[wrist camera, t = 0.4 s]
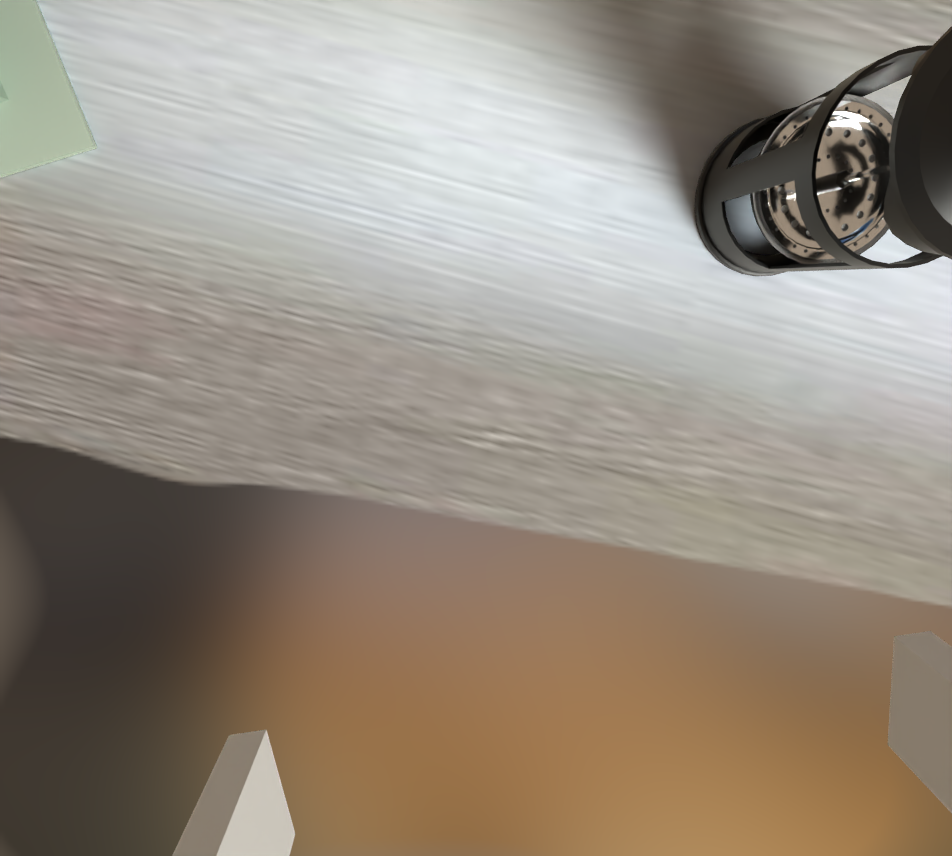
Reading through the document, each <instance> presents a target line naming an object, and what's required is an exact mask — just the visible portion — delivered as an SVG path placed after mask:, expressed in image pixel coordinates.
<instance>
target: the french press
mask: <svg viewBox="0 0 952 856" xmlns="http://www.w3.org/2000/svg"><path fill="white" fill-rule="evenodd" d="M877 66H878V67H877ZM875 67H876V68H875ZM910 75H912V76H911V78H910V80H909V82H908V84H907V86H906V88H905V90H904V92H903V94H902V96H901V98H900V101H899V105H898V108H897V111H896V114H895V118H894V119H893V117H892V116H891V115H890V114H889V113H888V112H887V111H886V110H884V109H883V108H882V107H881V106H880V105H878V104H877V103H875V102H872V101H870V100H868V99H866V98H864V97H863V96H865V95H868V94H870V93H872V92H874V91H876V90H879V89H881V88H883V87H885V86H888V85H890V84H892V83H894V82H896V81H899V80H901V79H903V78H905V77H908V76H910ZM766 140H768V141H767V142H766V144H765V145H764V146H763V148H762V150H761V152H760V154H759V156H758V157H755V158H753V159H750V160H748V161H745V162H743V163H740V164H738V165H735V166H733V167H731V165H732V163H733V161H734V160H735V159H736V158H737V157H738V156H739V155H740V154H741V153H742V152H743V151H745V150H746V149H748V148H749V147H750V146H752V145H754V144H756V143H758V142H761V141H766ZM730 167H731V168H730ZM748 194H750V198H751V205H752V210H753V213H754V216H755V219H756V222H757V224H758V226H759V228H760V230H761V232H762V233H763V235H764V237H765V238H766V239H767V240H768V241H769V242H770V244H771V245H772V246H773V247H774V248H776V249H777V250H778V251H779V252H781V253H778V254H774V255H758V254H753V253H750V252H748V251H746V250H744V249H743V248H742V247H741V246H740V245H739V244H738V243H737V241H736V239H735V237H734V235H733V234H732V232H731V230H730V227H729V224H728V221H727V218H726V211H725V202H724V201H727V200H731V199H734V198H738V197H741V196H744V195H748ZM695 215H696V222H697V226H698V229H699V232H700V235H701V238H702V240H703V242H704V243H705V245H706V247H707V249H708V250H709V251H710V252H711V253H712V255H713V256H714V257H715V258H716V259H717V260H718V261H719V262H721V263H722V264H724V265H725V266H726V267H728V268H729V269H732V270H734V271H737V272H739V273H741V274H747V275H752V276H771V275H775V274H780V273H784V272H787V271H817V270H848V269H879V268H908V267H912V266H916V265H921V264H925V263H928V262H930V261H932V260H935V259H937V258H939V257H941V256H945V257H948V258H950V259H952V27H950V28H949V30H948V31H947V32H946V33H945V34H944V35H943V36H942V37H941V38H940V39H939V40H938V41H937V42H936V43H935V44H934V45H932V46H916V47H912V48H908V49H903V50H899V51H897V52H894V53H892V54H890V55H888V56H886V57H884V58H882V59H880V60H878V61H876V62H874V63H872V64H870V65H868V66H866V67H864V68H862V69H860V70H858V71H857V72H855V73H854V74H852V75H851V76H850V77H848V78H847V79H845V80H844V81H843V82H841V83H840V84H839V85H838V86H837V87H836V88H834V89H832V90H830V91H828V92H826V93H824V94H822V95H820V96H818V97H816V98H814V99H812V100H810V101H808V102H806V103H804V104H802V105H800V106H798V107H794V108H790V109H786V110H782V111H780V112H778V113H776V114H774V115H772V116H770V117H766V118H762V119H758V120H755V121H753V122H750V123H748V124H746V125H744V126H742V127H740V128H738V129H737V130H736V131H734V132H733V133H731V134H730V135H729V136H727V137H726V138H725V139H724V140H723V141H722V142H721V143H720V144H719V145H718V147H717V148H716V149H715V150H714V151H713V153H712V154H711V156H710V158H709V159H708V161H707V162H706V164H705V166H704V169H703V171H702V173H701V176H700V178H699V182H698V186H697V190H696V196H695ZM888 229H890V230H891V232H892V234H894V235H895V236H896V237H898V238H899V239H900V240H901V241H903V242H904V243H905V244H907V245H909V246H911V247H914V248H916V249H918V250H920V251H923V252H922V253H919V254H917V255H915V256H913V257H910V258H908V259H906V260H903V261H899V262H894V263H890V264H887V263H882V262H876V261H872V260H869V259H867V258H865V257H863V256H860V254H861V253H863V252H864V251H866V250H867V249H869V248H870V247H872V246H873V245H874V244H875V243H876V242H877V241H878V240H879V239H880V238H881V237H882V236H883V235H884V234H885V233H886V232H887V230H888Z"/></svg>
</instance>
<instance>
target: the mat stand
mask: <svg viewBox="0 0 952 856" xmlns="http://www.w3.org/2000/svg"><path fill="white" fill-rule="evenodd" d="M96 148H97V146H96V143H95V141H94V139H93V136H92V134H91V131H90V129H89V127H88V124H87V122H86V119H85V117H84V114H83V112H82V110H81V107H80V105H79V102H78V100H77V98H76V95H75V93H74V90H73V88H72V86H71V83H70V81H69V78H68V76H67V74H66V71H65V69H64V66H63V64H62V62H61V59H60V57H59V54H58V52H57V50H56V47H55V45H54V42H53V40H52V37H51V35H50V33H49V30H48V28H47V25H46V23H45V21H44V18H43V16H42V13H41V11H40V9H39V6H38V4H37V1H36V0H0V178H2V177H5V176H8V175H11V174H15V173H18V172H21V171H24V170H28V169H31V168H34V167H37V166H41V165H44V164H47V163H50V162H54V161H57V160H60V159H63V158H67V157H70V156H73V155H76V154H80V153H83V152H86V151H89V150H92V149H96Z"/></svg>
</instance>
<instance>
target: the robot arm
mask: <svg viewBox="0 0 952 856" xmlns="http://www.w3.org/2000/svg"><path fill="white" fill-rule="evenodd" d="M888 746H890V748H891V749H892V750H893V751H894V752H895V753H896V754H897V755H898V756H899V757H900V758H901V759H902V761H903V762H904V763H905V764H906V765H907V766H908V767H909V768H910V769H911V770H912V771H913V772H914V773H915V774H916V776H917V777H918V778H919V779H921V781H922V782H923V783H924V784H925V785H926V786H927V787H928V788H929V789H930V790H931V792H932V793H933V794H934V795H935V796H936V797H937V798H938V799H939V800H940V801H941V802H942V803H943V804H944V805H945V806H946V808H947V809H948V810H949V811H950V812H951V813H952V647H951V646H950V645H948V644H947V643H946V642H944V641H943V640H942V639H940V638H939V637H938V636H936V635H935V634H933V633H932V632H931V631H928V632H922V633H915V634H908V635H902V636H895V637H894V650H893V666H892V683H891V699H890V717H889V733H888ZM294 836H295V832H294V828H293V825H292V821H291V817H290V814H289V810H288V806H287V803H286V799H285V796H284V792H283V788H282V785H281V781H280V778H279V774H278V770H277V767H276V763H275V759H274V756H273V752H272V749H271V745H270V741H269V738H268V734H267V730H261V731H254V732H248V733H242V734H234V735H229V737H228V739H227V741H226V743H225V745H224V747H223V749H222V752H221V754H220V756H219V758H218V760H217V762H216V764H215V766H214V768H213V771H212V773H211V775H210V777H209V779H208V781H207V784H206V785H205V788H204V790H203V792H202V794H201V796H200V798H199V800H198V803H197V804H196V807H195V809H194V811H193V813H192V815H191V817H190V819H189V821H188V824H187V826H186V828H185V830H184V832H183V834H182V836H181V838H180V840H179V843H178V845H177V847H176V849H175V851H174V853H173V855H172V856H289V855H290V851H291V847H292V844H293V840H294Z"/></svg>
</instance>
